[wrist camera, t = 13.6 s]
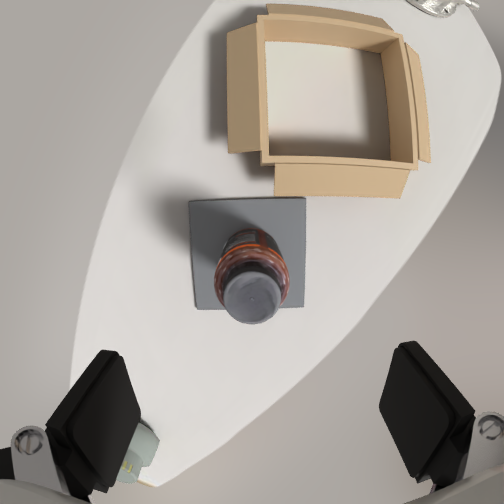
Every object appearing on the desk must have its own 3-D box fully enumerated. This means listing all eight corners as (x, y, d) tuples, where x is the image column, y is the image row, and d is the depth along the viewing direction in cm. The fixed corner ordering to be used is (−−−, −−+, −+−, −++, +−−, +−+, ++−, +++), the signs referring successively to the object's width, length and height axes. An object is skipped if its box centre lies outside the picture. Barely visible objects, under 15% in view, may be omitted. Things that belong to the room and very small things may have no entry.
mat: (305, 198, 29) (305, 198, 29) (303, 305, 32) (303, 307, 32) (189, 201, 29) (188, 201, 29) (197, 308, 32) (197, 309, 32)
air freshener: (151, 454, 40) (138, 495, 30) (109, 435, 39) (91, 474, 29) (165, 425, 37) (151, 472, 28) (117, 403, 36) (94, 447, 27)
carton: (400, 36, 24) (419, 20, 19) (415, 197, 29) (440, 202, 24) (228, 18, 24) (225, -6, 19) (231, 195, 29) (227, 198, 24)
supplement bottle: (211, 255, 30) (189, 298, 19) (250, 214, 29) (250, 236, 18) (251, 292, 31) (252, 350, 20) (291, 254, 30) (313, 297, 19)
